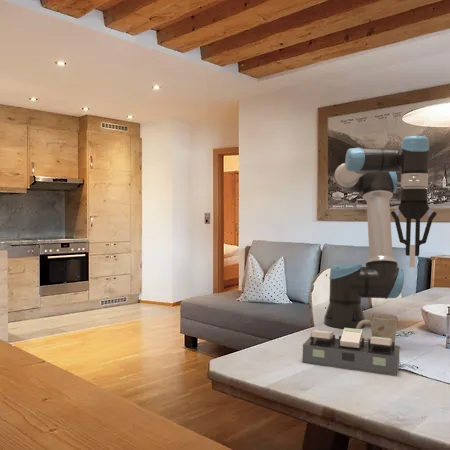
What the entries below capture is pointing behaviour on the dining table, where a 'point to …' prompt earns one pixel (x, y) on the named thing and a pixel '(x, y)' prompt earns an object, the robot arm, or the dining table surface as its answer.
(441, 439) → the dining table surface
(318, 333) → the rocker
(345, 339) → the rocker
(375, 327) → the mug
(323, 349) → the console
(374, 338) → the rocker
